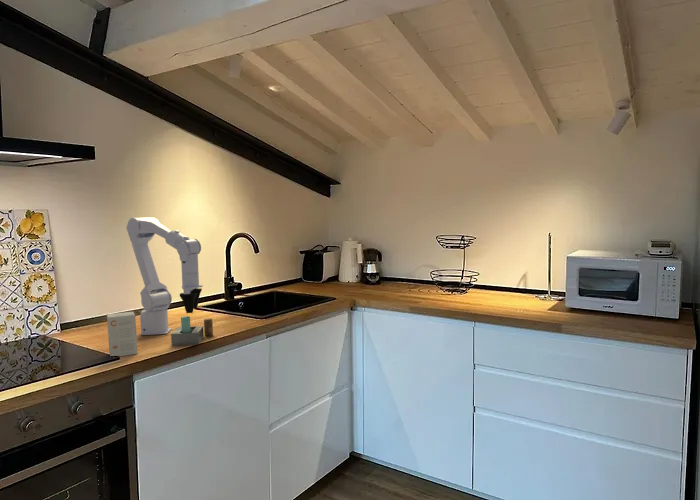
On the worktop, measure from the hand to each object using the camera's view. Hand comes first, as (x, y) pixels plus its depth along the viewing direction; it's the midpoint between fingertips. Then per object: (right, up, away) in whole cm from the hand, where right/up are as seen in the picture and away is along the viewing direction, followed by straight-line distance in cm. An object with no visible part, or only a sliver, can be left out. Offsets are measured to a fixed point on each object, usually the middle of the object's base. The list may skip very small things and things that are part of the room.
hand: (191, 310), depth 180 cm
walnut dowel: (+5, -10, +3) cm, 11 cm away
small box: (-16, -12, -18) cm, 27 cm away
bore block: (0, -10, -4) cm, 11 cm away
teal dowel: (0, -9, -7) cm, 12 cm away
